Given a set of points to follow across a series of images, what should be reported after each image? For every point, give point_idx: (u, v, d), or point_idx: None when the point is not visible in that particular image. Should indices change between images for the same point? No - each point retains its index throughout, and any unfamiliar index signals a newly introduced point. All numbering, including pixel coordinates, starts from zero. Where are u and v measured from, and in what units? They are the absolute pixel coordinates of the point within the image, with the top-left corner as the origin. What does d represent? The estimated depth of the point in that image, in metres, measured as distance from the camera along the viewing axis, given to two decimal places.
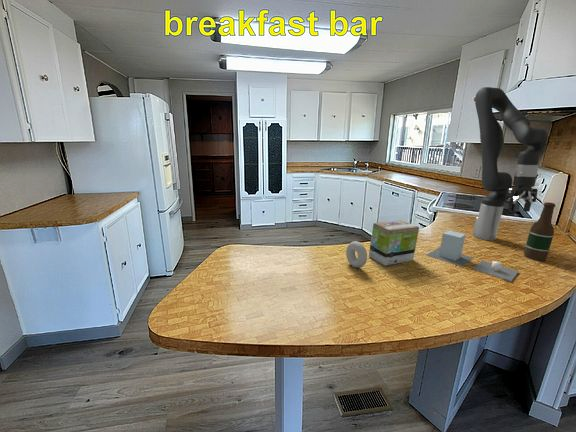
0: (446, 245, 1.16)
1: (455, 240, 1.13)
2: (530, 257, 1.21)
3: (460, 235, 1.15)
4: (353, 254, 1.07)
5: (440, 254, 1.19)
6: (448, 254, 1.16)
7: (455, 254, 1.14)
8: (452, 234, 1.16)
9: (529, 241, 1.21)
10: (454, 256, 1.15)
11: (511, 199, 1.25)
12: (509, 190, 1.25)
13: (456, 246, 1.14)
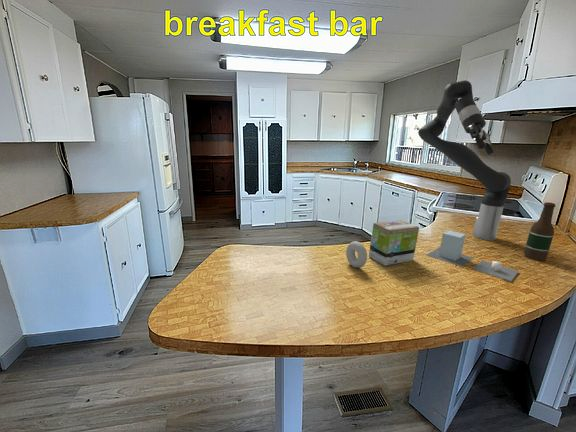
0: (446, 245, 1.16)
1: (455, 240, 1.13)
2: (530, 257, 1.21)
3: (460, 235, 1.15)
4: (353, 254, 1.07)
5: (440, 254, 1.19)
6: (448, 254, 1.16)
7: (455, 254, 1.14)
8: (452, 234, 1.16)
9: (529, 241, 1.21)
10: (454, 256, 1.15)
11: (477, 132, 1.11)
12: (469, 127, 1.14)
13: (456, 246, 1.14)
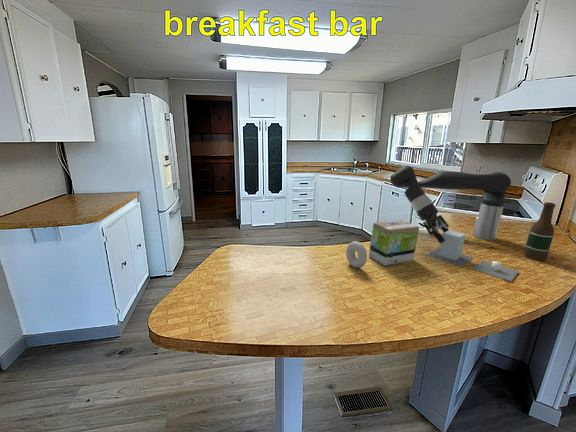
0: (446, 245, 1.16)
1: (455, 240, 1.14)
2: (530, 257, 1.21)
3: (460, 235, 1.15)
4: (353, 254, 1.07)
5: (440, 254, 1.19)
6: (447, 254, 1.16)
7: (455, 254, 1.14)
8: (452, 234, 1.16)
9: (529, 241, 1.21)
10: (454, 256, 1.15)
11: (434, 229, 1.15)
12: (425, 223, 1.17)
13: (456, 246, 1.14)
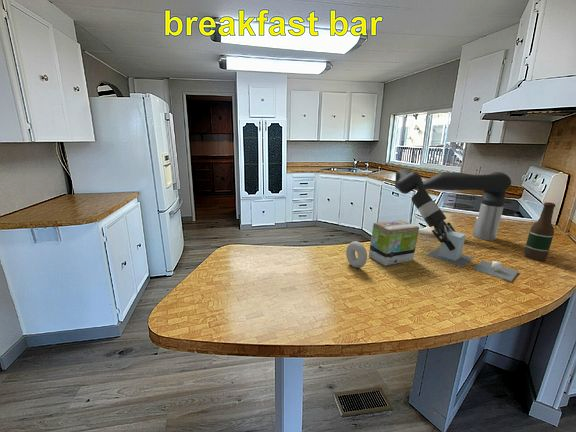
0: None
1: (455, 240, 1.13)
2: (530, 257, 1.21)
3: (460, 235, 1.15)
4: (353, 254, 1.07)
5: (440, 254, 1.19)
6: (448, 254, 1.16)
7: (455, 254, 1.14)
8: (452, 234, 1.16)
9: (529, 241, 1.21)
10: (454, 256, 1.15)
11: (444, 237, 1.14)
12: (434, 231, 1.15)
13: (456, 246, 1.14)
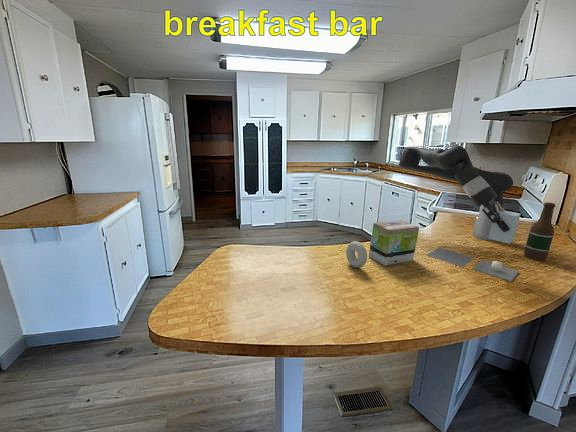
0: (498, 226, 1.02)
1: (510, 220, 0.99)
2: (530, 257, 1.21)
3: (515, 214, 1.00)
4: (353, 254, 1.07)
5: (490, 237, 1.04)
6: (500, 237, 1.02)
7: (509, 236, 1.00)
8: (505, 213, 1.01)
9: (529, 241, 1.21)
10: (508, 238, 1.00)
11: (497, 216, 1.00)
12: (485, 210, 1.01)
13: (511, 226, 0.99)
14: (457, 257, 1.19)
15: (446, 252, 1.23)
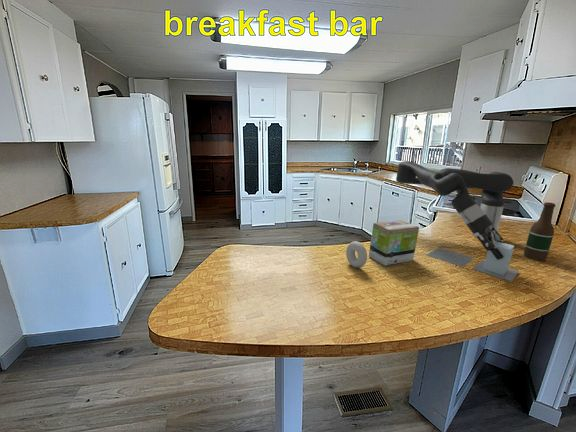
0: (492, 257, 1.05)
1: (504, 252, 1.02)
2: (530, 257, 1.21)
3: (509, 247, 1.03)
4: (353, 254, 1.07)
5: (485, 267, 1.07)
6: (494, 268, 1.05)
7: (503, 268, 1.03)
8: (499, 245, 1.04)
9: (529, 241, 1.21)
10: (502, 270, 1.03)
11: (491, 244, 1.02)
12: (480, 237, 1.04)
13: (505, 259, 1.02)
14: (457, 257, 1.19)
15: (446, 252, 1.23)
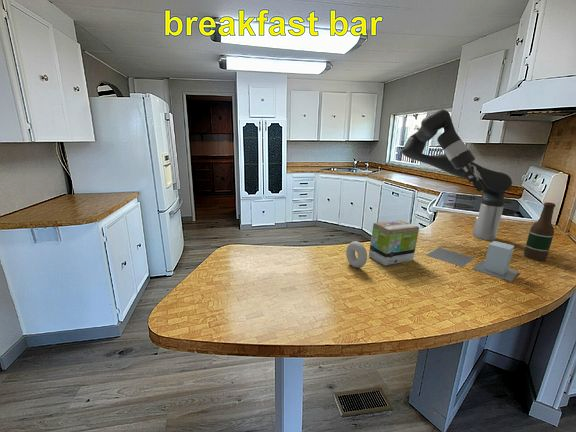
0: (492, 257, 1.05)
1: (504, 252, 1.02)
2: (530, 257, 1.21)
3: (509, 247, 1.03)
4: (353, 254, 1.07)
5: (485, 267, 1.07)
6: (494, 268, 1.05)
7: (503, 268, 1.03)
8: (499, 245, 1.04)
9: (529, 241, 1.21)
10: (502, 270, 1.03)
11: (474, 175, 1.04)
12: (464, 169, 1.06)
13: (505, 259, 1.02)
14: (457, 257, 1.19)
15: (446, 252, 1.23)
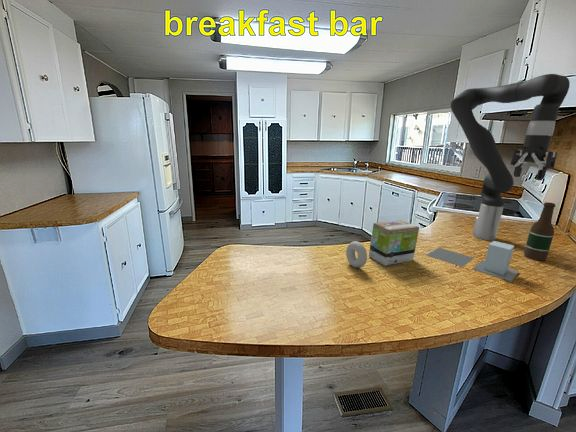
0: (492, 257, 1.05)
1: (504, 252, 1.02)
2: (530, 257, 1.21)
3: (509, 247, 1.03)
4: (353, 254, 1.07)
5: (485, 267, 1.07)
6: (494, 268, 1.05)
7: (503, 268, 1.03)
8: (499, 245, 1.04)
9: (529, 241, 1.21)
10: (502, 270, 1.03)
11: None
12: (553, 154, 1.00)
13: (505, 259, 1.02)
14: (457, 257, 1.19)
15: (446, 252, 1.23)
